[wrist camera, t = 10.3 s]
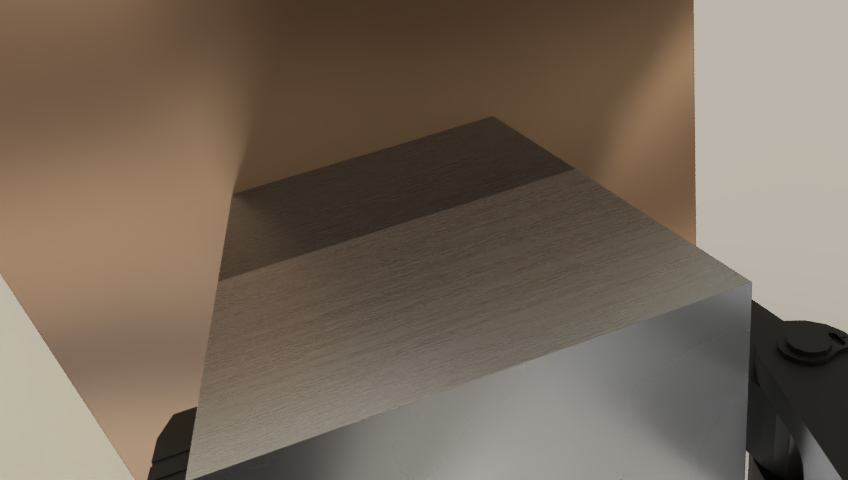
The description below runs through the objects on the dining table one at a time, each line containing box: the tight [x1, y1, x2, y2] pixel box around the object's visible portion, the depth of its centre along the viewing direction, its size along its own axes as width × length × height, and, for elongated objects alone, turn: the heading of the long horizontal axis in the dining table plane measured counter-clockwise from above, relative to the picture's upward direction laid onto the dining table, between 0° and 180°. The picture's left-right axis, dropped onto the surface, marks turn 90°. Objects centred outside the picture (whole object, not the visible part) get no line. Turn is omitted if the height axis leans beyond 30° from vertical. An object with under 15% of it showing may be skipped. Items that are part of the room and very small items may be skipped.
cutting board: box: [0, 0, 696, 480], centre depth 15 cm, size 18×16×2 cm
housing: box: [185, 116, 752, 480], centre depth 11 cm, size 6×6×8 cm
